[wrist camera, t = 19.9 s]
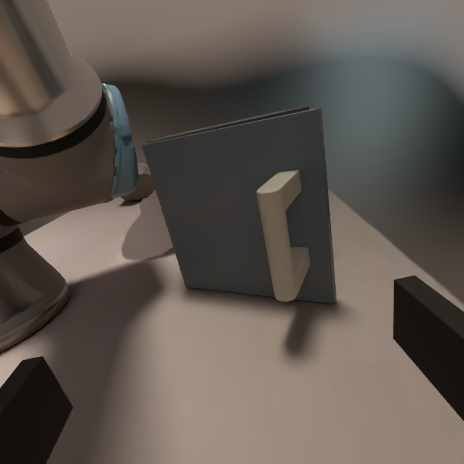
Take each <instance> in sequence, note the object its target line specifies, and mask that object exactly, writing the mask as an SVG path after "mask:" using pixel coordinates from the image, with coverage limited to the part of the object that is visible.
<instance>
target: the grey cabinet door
mask: <svg viewBox="0 0 464 464" xmlns="http://www.w3.org/2000/svg"><path fill="white" fill-rule="evenodd" d="M142 147H143V151H144V154H145V157H146V160H147V164H148V167H149V170H150V173H151V177H152V180H153V183H154V186H155V189H156V192H157V196H158V199H159V202H160V206H161V209H162V212H163V215H164V218H165V222H166V225H167V228H168V231H169V234H170V238H171V241H172V244H173V247H174V250H175V254H176V257H177V260H178V263H179V266H180V270H181V273H182V276H183V279H184V283H185V286H186V287H191V288H200V289H209V290H217V291H226V292H235V293H244V294H252V295H261V296H270V297H275V298H276V299H277V300H279V301H282V302H288V301H291V300H293V299H296V300H304V301H313V302H322V303H330V304H335V301H336V286H335V274H334V261H333V248H332V236H331V223H330V211H329V198H328V186H327V173H326V161H325V148H324V135H323V123H322V110H321V108H317V109H311V110H307V111H302V112H297V113H292V114H287V115H282V116H278V117H273V118H268V119H263V120H258V121H253V122H249V123H244V124H239V125H234V126H229V127H225V128H220V129H215V130H210V131H205V132H200V133H196V134H191V135H186V136H181V137H176V138H171V139H167V140H162V141H157V142H152V143H148V144H143V145H142Z"/></svg>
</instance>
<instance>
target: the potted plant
mask: <svg viewBox="0 0 464 464" xmlns="http://www.w3.org/2000/svg"><path fill="white" fill-rule="evenodd" d="M137 164H138V172H139V182H138V185H137V187H136V189H135V190H134V191H133V192H132V193H130V194H127V195H124V196H121V198H123V199H125V200H140V199H144V198H147V197H148V196H149V195H151V194H152V193H153V191H154V189H155V186H154V183H153V180H152V177H151V173H150V170H149V167H148V165H147V164H144V163H140V162H139V161H138V162H137Z"/></svg>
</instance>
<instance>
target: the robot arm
mask: <svg viewBox="0 0 464 464" xmlns="http://www.w3.org/2000/svg"><path fill="white" fill-rule="evenodd" d="M138 182H139V172H138V164H137V158H136V152H135V147H134V144H133V141H132V135H131V129H130V124H129V120H128V117H127V113H126V109H125V106H124V103H123V100H122V97H121V94H120V92H119V90H118V89H117V88H116V87H115V86H112V85H106V84H101V82H100V80H99V78H98V76H97V74H96V73H95V71H94V70H93V69H92V67H90V66H89V65H88V64H87V63H86V62H84V61H82V60H81V59H79V58H77V57H75V56H72V55H70V53H69V51H68V49H67V47H66V44H65V42H64V39H63V37H62V35H61V32H60V30H59V28H58V26H57V23H56V21H55V18H54V16H53V14H52V11H51V9H50V7H49V4H48V2H47V0H0V352H2V351H4V350H6V349H8V348H10V347H11V346H13V345H15V344H17V343H18V342H20V341H22V340H23V339H25V338H26V337H28V336H29V335H31V334H32V333H34V332H35V331H37V330H38V329H39V328H41V327H42V326H43V325H45V324H46V323H47V322H48V321H50V320H51V319H52V318H53V317H54V316H55V315H56V314H57V313H58V312H59V311H60V310H61V309H62V308H63V307H64V305H65V304H66V302H67V301H68V299H69V296H70V289H69V287H68V285H67V283H66V281H65V279H64V278H63V277H62V275H61V274H60V273H59V272H58V271H57V270H56V269H55V268H54V267H53V266H52V265H50V264H49V263H48V262H47V261H46V260H45V259H44V258H43V257H41V256H40V255H39V254H38V253H37V252H36V251H35V250H34V249H33V248H32V247H31V246H29V244H28V243H27V242H26V240H25V238H24V237H23V235H22V233H21V231H20V229H19V227H18V224H21V223H26V222H28V221H32V220H36V219H40V218H44V217H48V216H52V215H56V214H60V213H64V212H68V211H72V210H76V209H80V208H84V207H88V206H92V205H96V204H100V203H107V202H110V201H112V200H113V199H115V198H118V197H121V196H124V195H127V194H130V193H132V192H133V191H134V190H135V189H136V187H137V185H138ZM393 339H394V340H395V341H396V342H397V343H398V344H399V346H400V347H401V348H402V349H403V350H404V351H405V353H406V354H407V355H408V356H409V357H410V359H411V360H412V361H413V362H414V363H415V364H416V366H417V367H418V368H419V369H420V370H421V371H422V373H423V374H424V375H425V376H426V377H427V378H428V380H429V381H430V382H431V383H432V384H433V386H434V387H435V388H436V389H437V390H438V391H439V393H440V394H441V395H442V396H443V397H444V398H445V400H446V401H447V402H448V403H449V404H450V405H451V407H452V408H453V409H454V410H455V411H456V413H457V414H458V415H459V416H460V417H461V418H462V420H463V421H464V312H463V311H462V310H460V309H459V308H458V307H456V306H455V305H454V304H452V303H451V302H450V301H448V300H447V299H446V298H444V297H443V296H442V295H440V294H439V293H438V292H436V291H435V290H434V289H432V288H431V287H430V286H428V285H427V284H426V283H424V282H423V281H421V280H420V279H419V278H417V277H416V276H410V277H405V278H401V279H396V280H394V323H393ZM72 409H73V406H72V404H71V403H70V401H69V399H68V398H67V396H66V394H65V393H64V391H63V389H62V388H61V386H60V384H59V383H58V381H57V379H56V378H55V376H54V374H53V373H52V371H51V369H50V368H49V366H48V364H47V362H46V361H45V359H44V357H43V356H40V357H36V358H31V359H27V360H22V361H21V363H20V364H19V365H18V366H17V368H16V369H15V370H14V372H13V373H12V374H11V375H10V377H9V378H8V379H7V380H6V382H5V383H4V384H3V385H2V387H1V388H0V464H46V463H47V461H48V459H49V457H50V455H51V453H52V450H53V448H54V446H55V444H56V442H57V440H58V438H59V436H60V434H61V432H62V430H63V428H64V426H65V423H66V421H67V419H68V417H69V415H70V413H71V411H72Z"/></svg>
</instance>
